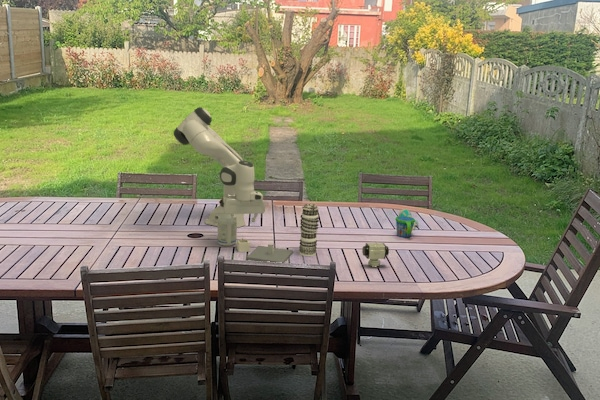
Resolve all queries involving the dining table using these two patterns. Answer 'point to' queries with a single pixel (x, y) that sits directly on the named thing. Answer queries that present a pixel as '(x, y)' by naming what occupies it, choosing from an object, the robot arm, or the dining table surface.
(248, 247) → the cream open box
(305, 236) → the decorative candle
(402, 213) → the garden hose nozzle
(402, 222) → the snack cup
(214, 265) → the dining table surface
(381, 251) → the pneumatic valve
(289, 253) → the grey square panel
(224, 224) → the supplement tub
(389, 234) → the dining table surface
